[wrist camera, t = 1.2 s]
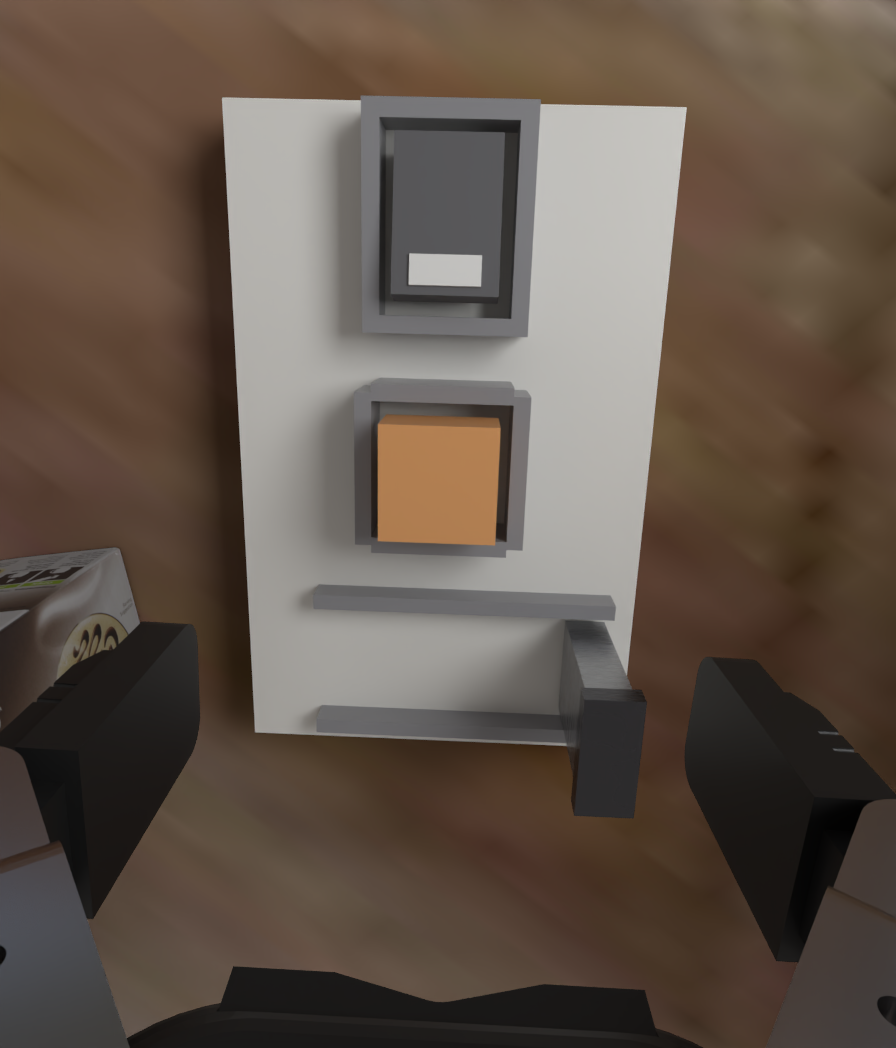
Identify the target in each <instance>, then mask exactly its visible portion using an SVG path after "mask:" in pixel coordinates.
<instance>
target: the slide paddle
mask: <svg viewBox="0 0 896 1048" xmlns="http://www.w3.org/2000/svg"><path fill="white" fill-rule="evenodd" d="M646 705H647V702H646V699H645V697H644V695H643V692H642V690H632V687H631V685H630V683H629V680H628V678H627V675H626V673H625V671H624V668H623V666H622V663H621V661H620V659H619V656H618V654H617V651H616V649H615V647H614V644H613V642H612V639H611V637H610V635H609V632H608V630H607V628H606V625H605V623H604V622H592V621H567V620H565V629H564V642H563V655H562V668H561V680H560V693H559V706H558V707H559V712H560V717H561V721H562V726H563V731H564V735H565V740H566V745H567V750H568V754H569V759H570V764H571V768H572V773H573V785H572V797H571V802H572V807H573V812H574V816H593V817H615V818H634V809H635V801H636V792H637V783H638V775H639V766H640V757H641V749H642V740H643V731H644V722H645V714H646Z"/></svg>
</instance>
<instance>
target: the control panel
mask: <svg viewBox="0 0 896 1048" xmlns="http://www.w3.org/2000/svg"><path fill="white" fill-rule="evenodd" d="M222 106H223V125H224V144H225V163H226V182H227V201H228V221H229V240H230V259H231V278H232V297H233V317H234V336H235V355H236V374H237V393H238V413H239V432H240V451H241V470H242V489H243V509H244V528H245V547H246V566H247V585H248V604H249V624H250V643H251V662H252V681H253V700H254V720H255V732H258V733H282V734H305V735H328V736H351V737H374V738H397V739H420V740H443V741H466V742H489V743H512V744H535V745H558V746H567V745H566V740H565V735H564V731H563V726H562V721H561V717H560V712H559V707H558V706H559V693H560V680H561V668H562V655H563V642H564V629H565V620H567V621H592V622H604V623H605V625H606V628H607V630H608V632H609V635H610V637H611V639H612V642H613V644H614V647H615V649H616V651H617V654H618V656H619V659H620V661H621V663H622V666H623V668H624V671H625V673H626V675H627V669H628V659H629V650H630V640H631V631H632V621H633V612H634V602H635V593H636V583H637V574H638V564H639V555H640V545H641V536H642V526H643V517H644V507H645V498H646V488H647V479H648V469H649V460H650V450H651V441H652V431H653V422H654V412H655V403H656V393H657V384H658V374H659V365H660V355H661V346H662V336H663V327H664V317H665V308H666V298H667V289H668V279H669V270H670V260H671V251H672V241H673V232H674V222H675V213H676V203H677V194H678V184H679V175H680V165H681V156H682V146H683V137H684V127H685V118H686V108H687V107H646V106H598V105H551V104H541V99H495V98H447V97H399V96H361V100H313V99H266V98H222ZM394 130H418V131H463V132H505V148H504V174H503V199H502V225H501V250H500V276H499V298H498V303H497V304H483V303H447V302H411V301H394V300H393V298H392V296H391V255H392V213H393V171H394ZM386 414H392V415H423V416H455V417H486V418H499V423H500V427H501V432H500V453H499V475H498V496H497V517H496V538H495V545H467V544H440V543H413V542H385V541H378V423H379V422H380V421H381V420H382V419H383V418H384V416H385V415H386Z"/></svg>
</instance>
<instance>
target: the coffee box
mask: <svg viewBox="0 0 896 1048" xmlns="http://www.w3.org/2000/svg"><path fill="white" fill-rule="evenodd" d="M139 624H140V621H139V618H138V614H137V610H136V607H135V603H134V599H133V596H132V592H131V588H130V585H129V581H128V577H127V574H126V570H125V566H124V563H123V559H122V555H121V552H120V549H118V548H105V549H95V550H86V551H76V552H67V553H58V554H49V555H39V556H30V557H22V558H15V559H7V560H1V561H0V732H1V731H2V730H3V729H4V728H5V727H6V726H7V725H8V724H9V723H10V722H12V721H13V720H14V719H15V718H16V717H17V716H18V715H19V714H20V713H21V712H22V711H24V710H25V709H26V708H27V707H28V706H29V705H30V704H31V703H32V702H37V698H38V697H39V696H40V695H41V694H42V693H43V692H44V691H45V690H46V689H47V688H49V687H50V686H52V687H53V685H54V682H55V681H56V680H57V679H58V678H59V677H60V676H62V675H63V674H64V673H65V672H66V671H67V670H68V669H69V668H70V667H71V666H72V665H74V664H76V663H78V662H80V661H82V660H84V659H86V658H88V657H90V656H92V655H94V654H96V653H98V652H100V651H103V650H113V649H114V648H115V647H116V646H117V645H118V644H119V643H120V642H121V641H122V640H124V639H125V638H126V637H127V636H128V635H129V634H130V633H131V632H132V631H133V630H134V629H135V628H136V627H137V626H138V625H139Z"/></svg>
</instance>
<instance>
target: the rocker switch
mask: <svg viewBox="0 0 896 1048" xmlns="http://www.w3.org/2000/svg"><path fill="white" fill-rule="evenodd" d="M504 148H505V132H463V131H418V130H394V171H393V213H392V255H391V296H392V298H393V300H394V301H411V302H447V303H483V304H497V303H498V298H499V276H500V250H501V225H502V199H503V174H504Z"/></svg>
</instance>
